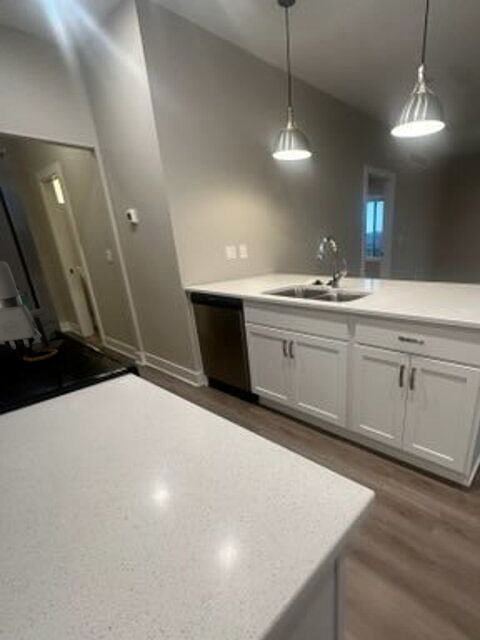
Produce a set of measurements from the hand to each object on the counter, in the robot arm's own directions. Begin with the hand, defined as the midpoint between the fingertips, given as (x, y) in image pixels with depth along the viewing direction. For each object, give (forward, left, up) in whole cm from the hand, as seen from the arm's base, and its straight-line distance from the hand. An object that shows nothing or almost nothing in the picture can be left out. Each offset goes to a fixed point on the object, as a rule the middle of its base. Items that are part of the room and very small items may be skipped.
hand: (26, 357), depth 113 cm
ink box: (-1, +24, -1) cm, 24 cm away
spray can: (-8, +36, -1) cm, 37 cm away
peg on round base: (+3, +12, -1) cm, 12 cm away
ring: (+4, 0, 0) cm, 4 cm away
